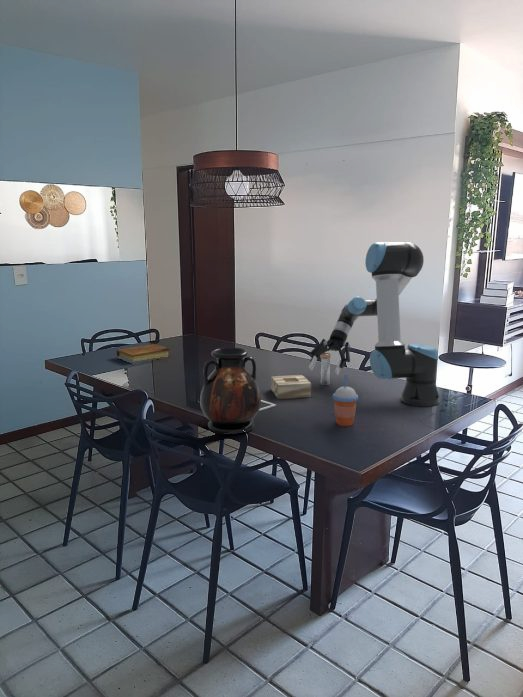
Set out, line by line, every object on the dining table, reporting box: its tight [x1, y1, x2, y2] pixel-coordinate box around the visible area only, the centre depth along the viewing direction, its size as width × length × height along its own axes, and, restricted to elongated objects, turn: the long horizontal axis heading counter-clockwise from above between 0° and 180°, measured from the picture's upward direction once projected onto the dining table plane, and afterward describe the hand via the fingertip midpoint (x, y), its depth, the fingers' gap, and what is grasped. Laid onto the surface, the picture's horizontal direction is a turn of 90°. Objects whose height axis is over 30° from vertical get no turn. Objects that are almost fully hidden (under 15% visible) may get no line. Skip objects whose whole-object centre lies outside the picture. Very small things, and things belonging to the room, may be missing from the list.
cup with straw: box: [332, 374, 359, 427], centre depth 194 cm, size 9×9×18 cm
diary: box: [116, 343, 171, 362], centre depth 301 cm, size 23×19×6 cm
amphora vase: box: [199, 347, 262, 435], centre depth 189 cm, size 22×22×28 cm
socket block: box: [270, 374, 312, 400], centre depth 233 cm, size 14×14×6 cm
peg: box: [320, 352, 331, 386], centre depth 246 cm, size 4×4×14 cm
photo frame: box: [259, 399, 277, 411], centre depth 218 cm, size 15×1×18 cm
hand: (323, 371), depth 245 cm, fingers open, 13 cm apart
